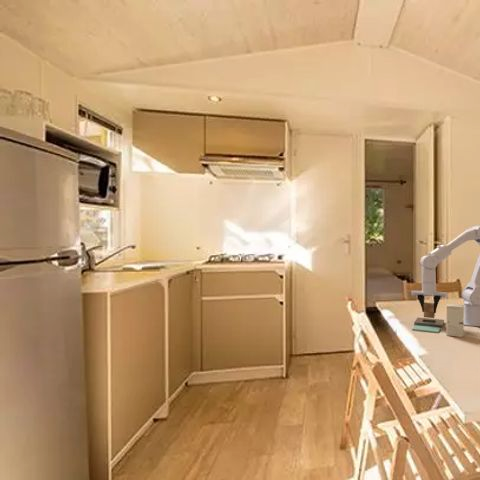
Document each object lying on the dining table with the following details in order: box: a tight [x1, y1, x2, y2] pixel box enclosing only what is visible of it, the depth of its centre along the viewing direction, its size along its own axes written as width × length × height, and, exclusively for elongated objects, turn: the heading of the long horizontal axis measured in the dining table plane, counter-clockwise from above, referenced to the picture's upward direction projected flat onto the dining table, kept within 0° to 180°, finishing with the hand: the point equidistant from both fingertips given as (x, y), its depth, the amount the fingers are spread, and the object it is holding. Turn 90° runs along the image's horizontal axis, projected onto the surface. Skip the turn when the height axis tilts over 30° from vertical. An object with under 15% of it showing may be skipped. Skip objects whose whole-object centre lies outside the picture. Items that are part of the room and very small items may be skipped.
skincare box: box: [445, 303, 464, 338], centre depth 154 cm, size 6×4×12 cm
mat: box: [411, 324, 441, 334], centre depth 163 cm, size 10×7×1 cm
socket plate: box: [413, 317, 445, 329], centre depth 173 cm, size 11×11×1 cm
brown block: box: [423, 301, 436, 319], centre depth 173 cm, size 4×4×6 cm
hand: (429, 312), depth 173 cm, fingers closed on brown block, 4 cm apart
